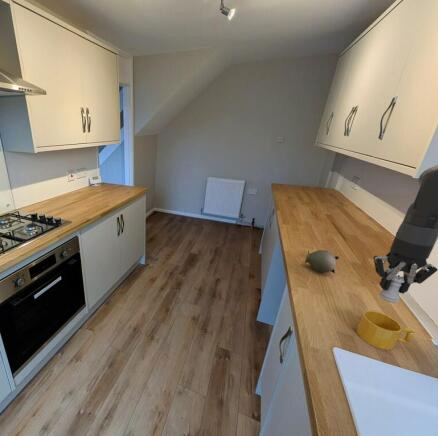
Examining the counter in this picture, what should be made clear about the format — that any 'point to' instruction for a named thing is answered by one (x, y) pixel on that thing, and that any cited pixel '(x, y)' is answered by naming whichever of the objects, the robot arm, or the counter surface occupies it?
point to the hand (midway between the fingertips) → (392, 290)
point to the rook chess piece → (392, 290)
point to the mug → (381, 330)
